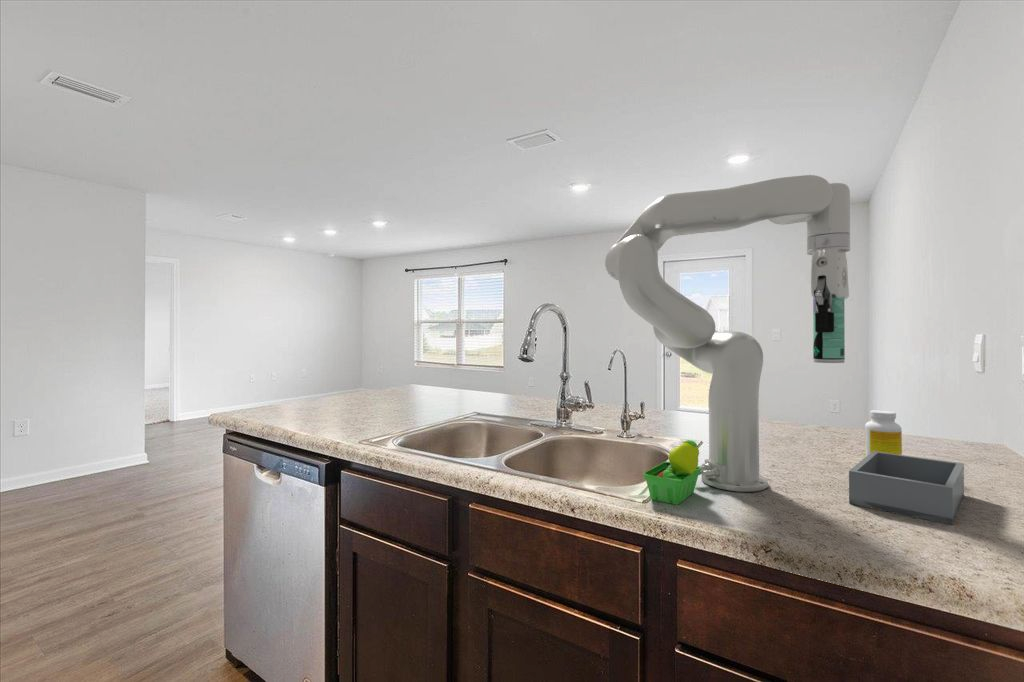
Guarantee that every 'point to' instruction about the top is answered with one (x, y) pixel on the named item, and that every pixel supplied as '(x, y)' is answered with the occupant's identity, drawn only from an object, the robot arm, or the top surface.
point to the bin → (908, 486)
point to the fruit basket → (675, 474)
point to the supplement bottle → (883, 433)
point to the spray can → (830, 336)
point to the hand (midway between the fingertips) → (828, 331)
